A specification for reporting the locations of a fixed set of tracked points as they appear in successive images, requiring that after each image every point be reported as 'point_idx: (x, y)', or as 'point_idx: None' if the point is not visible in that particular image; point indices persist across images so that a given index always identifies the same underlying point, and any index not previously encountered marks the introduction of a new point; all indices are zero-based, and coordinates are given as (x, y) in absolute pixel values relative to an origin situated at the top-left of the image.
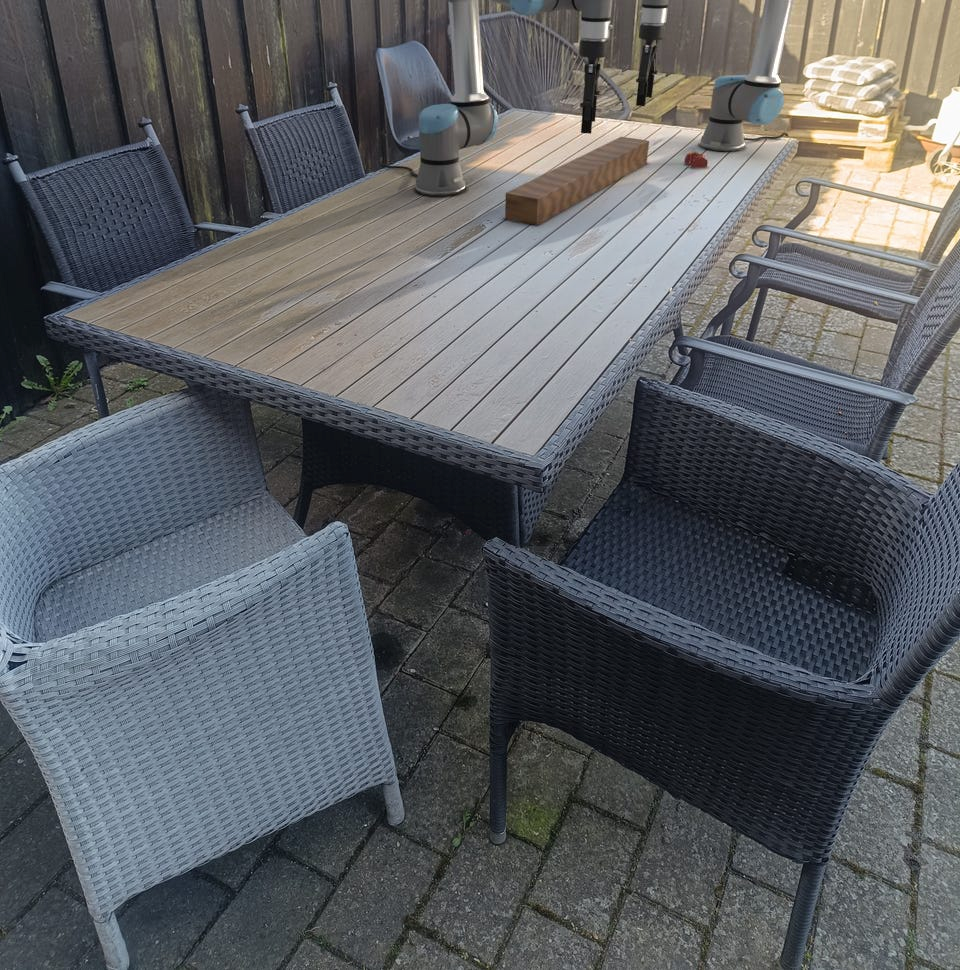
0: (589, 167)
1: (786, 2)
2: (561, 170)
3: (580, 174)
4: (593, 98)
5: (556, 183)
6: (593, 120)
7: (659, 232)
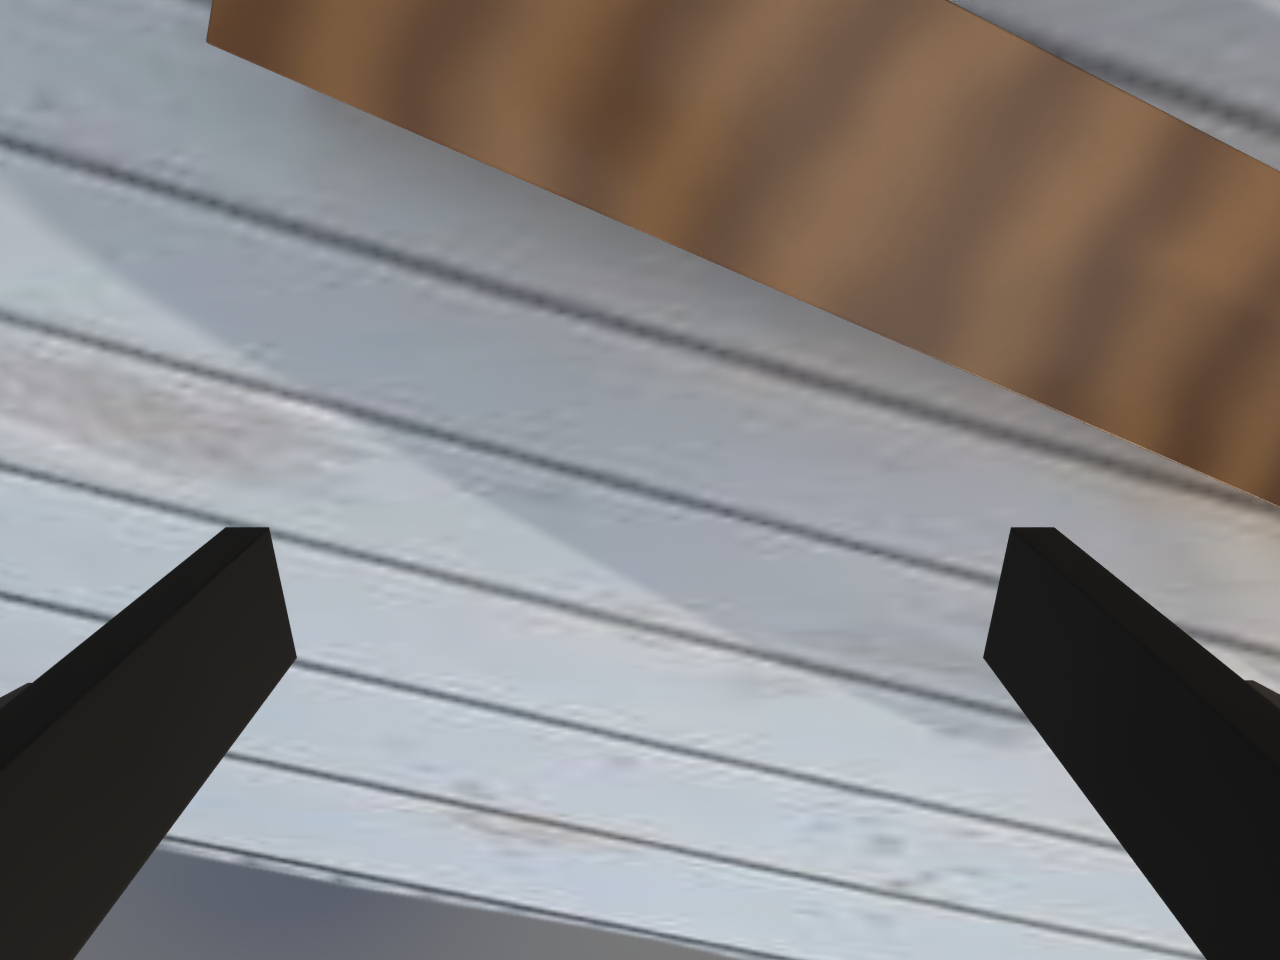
0: (1139, 383)
1: None
2: (1059, 158)
3: (940, 331)
4: (1243, 929)
5: (668, 157)
6: (996, 648)
7: (411, 716)
